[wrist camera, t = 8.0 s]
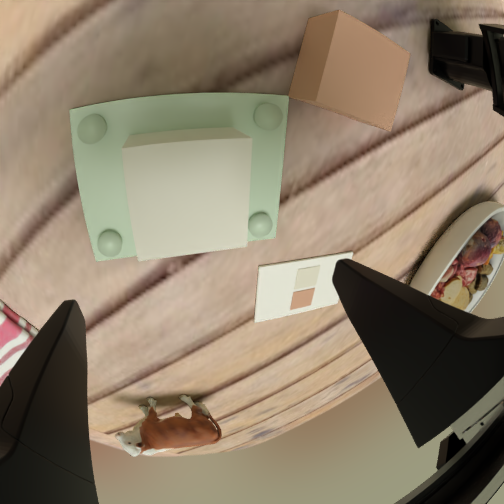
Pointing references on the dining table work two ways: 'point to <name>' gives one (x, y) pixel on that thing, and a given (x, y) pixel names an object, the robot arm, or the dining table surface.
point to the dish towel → (12, 339)
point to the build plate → (165, 119)
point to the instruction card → (296, 286)
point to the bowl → (464, 258)
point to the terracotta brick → (350, 69)
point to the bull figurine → (170, 430)
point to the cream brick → (188, 190)
